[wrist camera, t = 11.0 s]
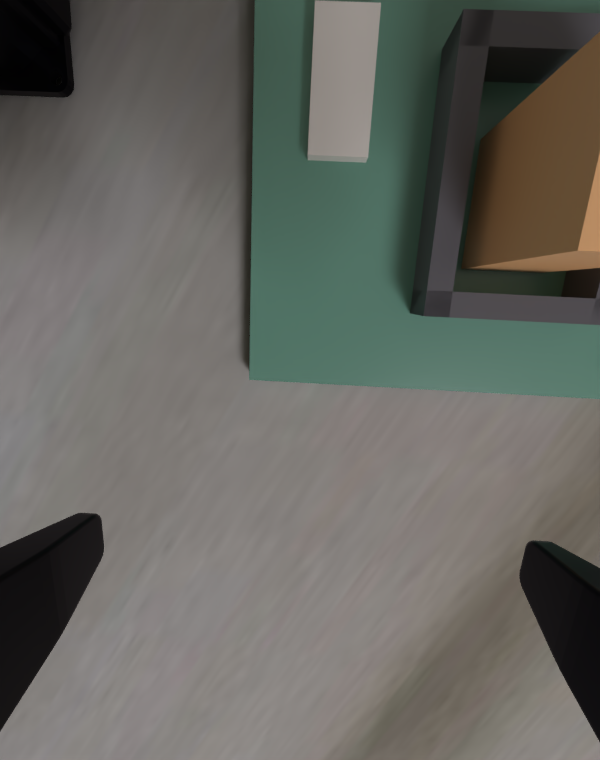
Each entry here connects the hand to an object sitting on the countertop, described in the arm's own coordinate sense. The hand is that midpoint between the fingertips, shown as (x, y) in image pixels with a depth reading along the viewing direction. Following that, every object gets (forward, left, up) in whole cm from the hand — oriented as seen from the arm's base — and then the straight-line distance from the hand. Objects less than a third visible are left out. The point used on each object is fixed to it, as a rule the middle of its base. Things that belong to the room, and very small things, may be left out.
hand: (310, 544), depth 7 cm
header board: (+8, +9, -11) cm, 16 cm away
